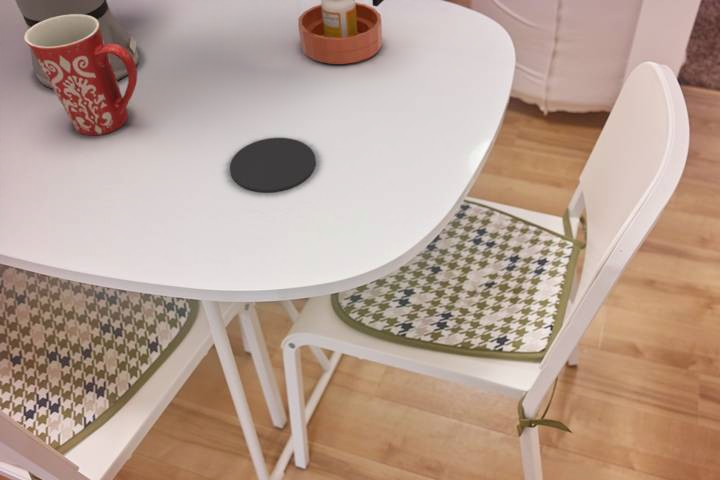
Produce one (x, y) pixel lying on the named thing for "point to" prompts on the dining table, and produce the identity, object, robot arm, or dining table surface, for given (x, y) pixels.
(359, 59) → the bowl
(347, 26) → the supplement bottle
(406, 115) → the dining table surface
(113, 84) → the mug
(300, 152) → the coaster
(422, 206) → the dining table surface
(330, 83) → the dining table surface
